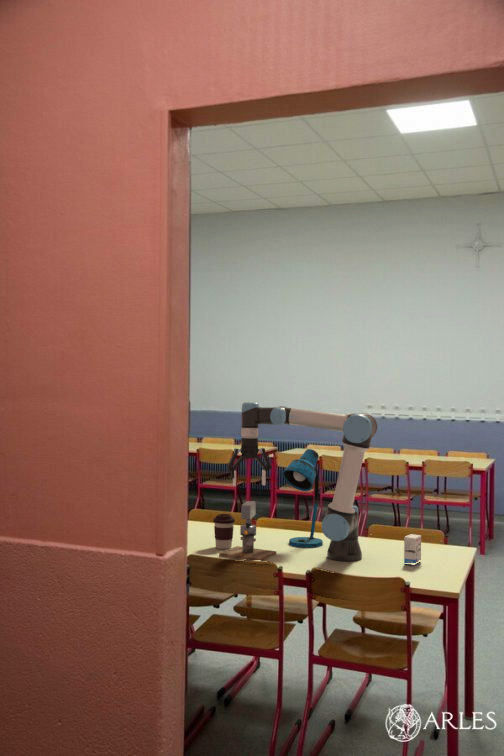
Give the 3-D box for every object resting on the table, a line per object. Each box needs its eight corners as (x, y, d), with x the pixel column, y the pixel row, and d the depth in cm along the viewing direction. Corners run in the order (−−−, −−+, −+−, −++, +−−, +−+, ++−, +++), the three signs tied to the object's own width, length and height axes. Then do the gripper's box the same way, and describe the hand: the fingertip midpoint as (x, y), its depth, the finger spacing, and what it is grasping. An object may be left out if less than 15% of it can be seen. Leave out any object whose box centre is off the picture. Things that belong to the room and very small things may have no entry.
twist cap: (243, 531, 335) (243, 500, 335) (258, 532, 333) (258, 501, 333) (237, 536, 323) (238, 505, 323) (253, 537, 321) (253, 505, 321)
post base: (276, 554, 330) (276, 534, 330) (259, 562, 316) (260, 541, 316) (236, 549, 340) (237, 529, 340) (219, 556, 325) (219, 536, 326)
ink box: (414, 566, 313) (415, 538, 313) (403, 564, 315) (403, 536, 316) (421, 562, 320) (421, 534, 320) (410, 560, 323) (410, 533, 323)
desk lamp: (275, 545, 348) (276, 449, 349) (303, 538, 365) (304, 447, 365) (302, 551, 338) (304, 452, 338) (330, 543, 355) (331, 449, 355)
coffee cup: (231, 550, 337) (232, 517, 337) (210, 549, 339) (210, 516, 339) (236, 545, 347) (236, 513, 347) (215, 544, 349) (216, 512, 349)
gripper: (224, 438, 321) (224, 487, 321) (279, 437, 329) (278, 485, 328) (220, 437, 328) (219, 485, 328) (273, 436, 336) (273, 483, 336)
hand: (249, 485), depth 328 cm, fingers open, 13 cm apart
